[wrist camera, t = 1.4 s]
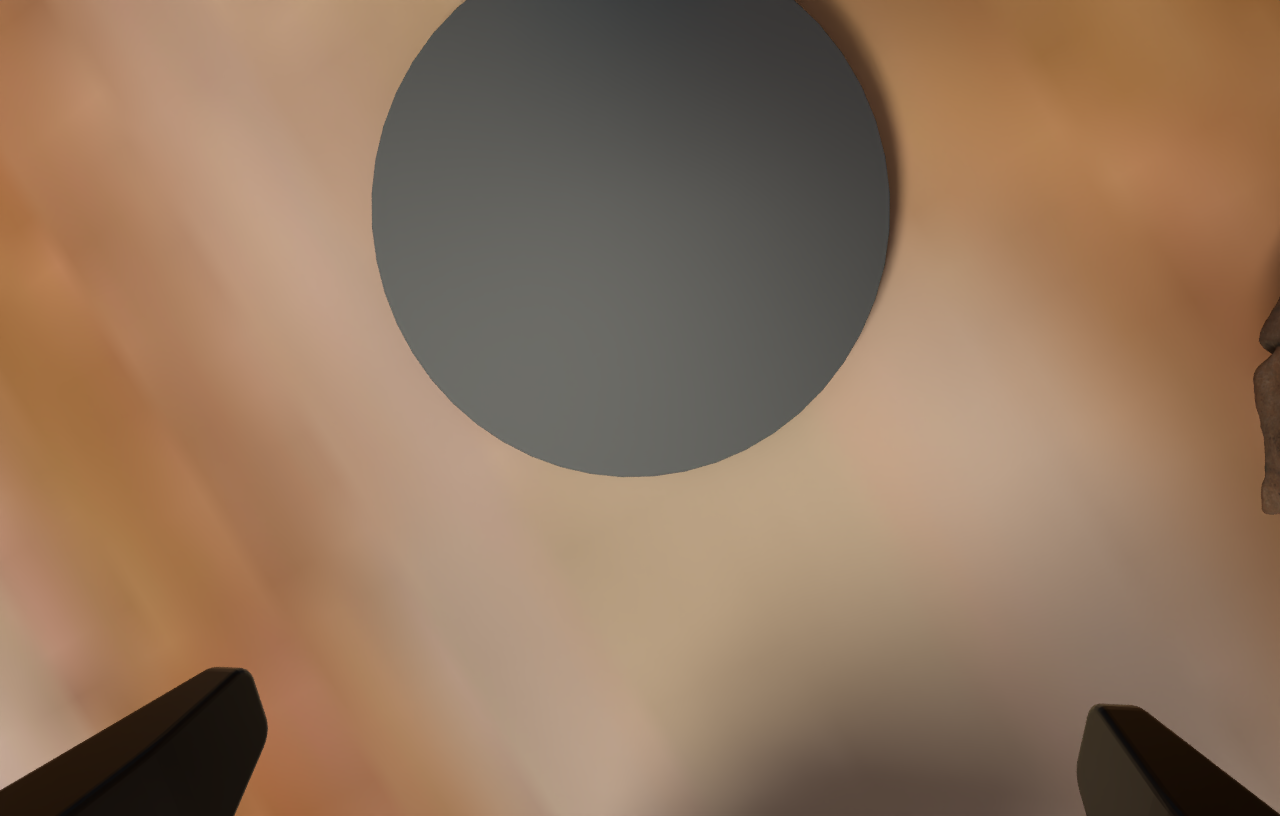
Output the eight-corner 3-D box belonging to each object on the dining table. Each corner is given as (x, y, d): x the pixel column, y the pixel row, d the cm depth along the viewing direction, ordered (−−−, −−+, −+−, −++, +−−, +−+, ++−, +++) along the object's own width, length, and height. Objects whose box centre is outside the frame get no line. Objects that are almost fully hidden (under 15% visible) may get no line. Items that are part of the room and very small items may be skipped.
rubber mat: (583, 555, 21) (579, 565, 20) (285, 180, 20) (272, 179, 19) (989, 279, 18) (998, 280, 18) (675, -179, 17) (673, -193, 16)
